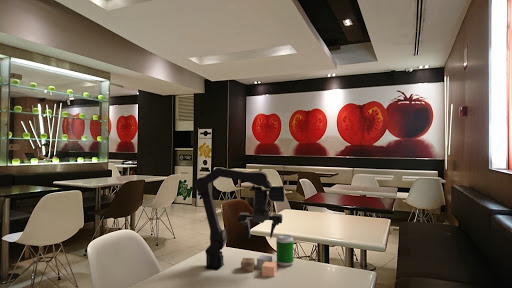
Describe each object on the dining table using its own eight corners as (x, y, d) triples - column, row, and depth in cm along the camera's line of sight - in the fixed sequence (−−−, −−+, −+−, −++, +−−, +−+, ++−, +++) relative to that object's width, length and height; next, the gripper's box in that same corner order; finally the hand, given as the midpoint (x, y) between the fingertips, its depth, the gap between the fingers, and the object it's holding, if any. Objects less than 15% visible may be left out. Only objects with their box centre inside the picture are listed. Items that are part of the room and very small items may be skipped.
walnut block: (241, 271, 127) (240, 262, 127) (243, 267, 132) (242, 257, 132) (253, 272, 126) (252, 262, 126) (254, 267, 131) (254, 258, 131)
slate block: (257, 267, 131) (256, 258, 131) (261, 263, 135) (261, 254, 135) (267, 269, 128) (267, 260, 129) (272, 265, 133) (272, 256, 133)
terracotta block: (262, 275, 122) (261, 265, 122) (265, 271, 127) (265, 261, 127) (274, 277, 121) (274, 267, 121) (277, 272, 126) (276, 262, 126)
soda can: (293, 267, 130) (292, 239, 130) (275, 266, 131) (275, 238, 131) (294, 261, 137) (294, 234, 137) (277, 260, 139) (277, 233, 139)
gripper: (235, 203, 124) (234, 242, 124) (281, 205, 121) (280, 245, 121) (240, 199, 135) (240, 234, 135) (282, 200, 132) (282, 236, 132)
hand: (260, 237), depth 130 cm, fingers open, 9 cm apart
